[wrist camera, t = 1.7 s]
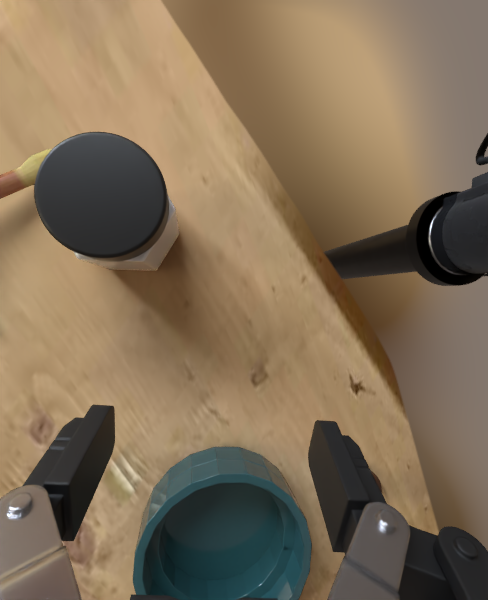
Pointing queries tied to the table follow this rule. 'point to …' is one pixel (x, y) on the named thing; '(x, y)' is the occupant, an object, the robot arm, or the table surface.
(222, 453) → the bowl
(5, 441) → the table surface
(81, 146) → the jar
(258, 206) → the table surface
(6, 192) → the hammer
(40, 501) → the robot arm
